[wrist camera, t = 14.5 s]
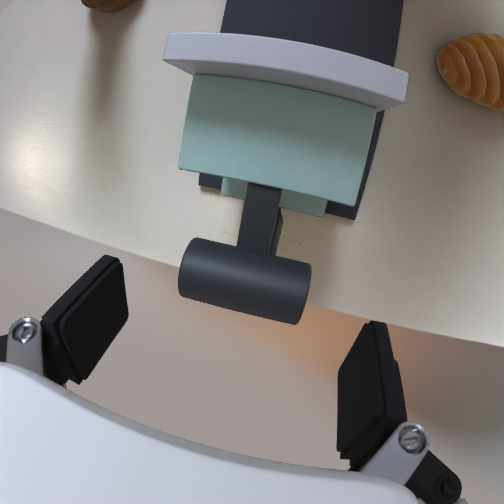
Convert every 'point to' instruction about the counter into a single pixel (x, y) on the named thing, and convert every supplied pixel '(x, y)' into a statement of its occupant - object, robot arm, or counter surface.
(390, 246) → the counter surface
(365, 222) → the counter surface
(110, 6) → the mortar and pestle
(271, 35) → the iron mat
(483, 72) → the pastry
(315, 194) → the iron
